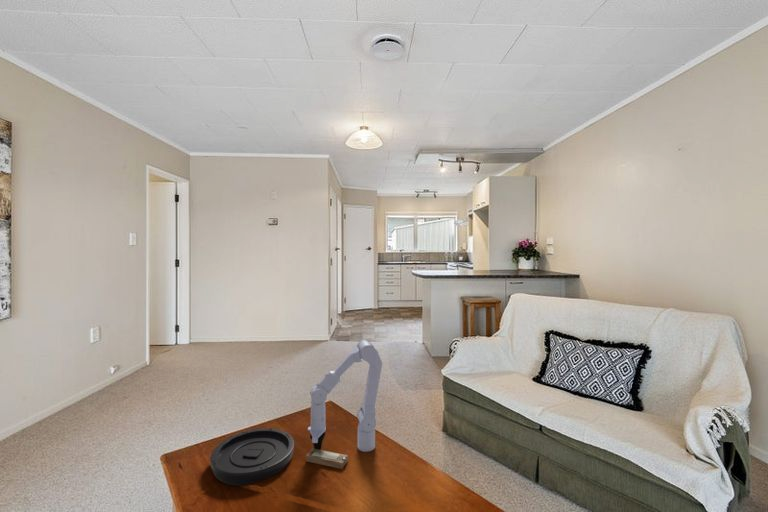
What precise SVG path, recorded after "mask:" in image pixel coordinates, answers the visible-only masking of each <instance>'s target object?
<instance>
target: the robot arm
mask: <svg viewBox="0 0 768 512" xmlns="http://www.w3.org/2000/svg"><path fill="white" fill-rule="evenodd" d="M363 361H365V362H366V363H368V364H369V366H368V372H367V378H366V384H365V388H364V396H363V401H362V402H361V403H360V407H359V409H358V411H357V413H356V417H357V419H358V425H357V450H359V451H361V452H363V453H365V452H367V453H368V452H372V451H373V450H375V448H376V427H377V421H376V401H377V395H378V392H379V391H378V390H379V385H380V379H381V372H382V368H383V367H382V366H383V362H382V359H381V357H380V354H379V351H378V350H377V348H375V347H374V345H373V344H372V343H371V342H370V341H369V340H367V339H362V340H359V342H357V344H356V345H355V346H353V347H352V348H351V350H350V351H349V353H348V354H347V355H346V356H345V357H344V358H343V359H342V361H341V362H340V363H339V364H338V366H337V367H336V368H335V369H334V370H329V372H326V373H325V374H324V377H323V378H322V379H321V380H320V381H319V382H317V383H316V385H314V386H313V387H312V388H311V390H310V398H311V399H310V400H311V402H310V404H311V405H310V426H308V428H307V432H310V435H309V438H310V440H311V443H312V444H313V449H318V450H322V446H323V441H324V439H325V436H326V432H327V431H326V430H327V429H326V427H327V426H326V401H327V396H328V395H329V394H330V393H331V392H332V391H333V390H334V388H335V387H336V386H337V385H339V383H340V382H341V377H342V375H344V373H346V371H347V370H348V369H350V368H351V367H352V365H354V363H362V362H363Z"/></svg>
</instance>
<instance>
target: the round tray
mask: <svg viewBox="0 0 768 512" xmlns="http://www.w3.org/2000/svg"><path fill="white" fill-rule="evenodd" d="M294 448H295V439H294V438H293V436H292V435H291V434H289V433H288V432H286V430H285V431H284V430H282V429H277V428H255V429H254V428H253V429H249V430H245V431H242V432H239V433H237V434H234V435H231V436H229V437H227V438H225V439H224V440H222V441H221V442H219V444H218V445H217V446H216V447H214V449H213V450H212V452H211V454H210V458H209V459H210V460H209V461H210V468H211V471H212V473H213V475H214V477H215V478H216V479H217V480H218V481H220V482H221V483H222V484H226V485H229V486H238V487H239V486H240V487H241V486H243V487H245V486H250V485H253V483H256V482H259V481H264V480H267V479H269V478H271V477H272V476H275V475H277V474H278V473H279V472H281V471H282V470H283V469H284V468H286V467H287V465H288V464H289V463H290V462H291V460H292V457H293V454H294V450H295V449H294Z"/></svg>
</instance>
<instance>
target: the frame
mask: <svg viewBox="0 0 768 512" xmlns="http://www.w3.org/2000/svg"><path fill="white" fill-rule="evenodd" d="M305 456H306V458H305V460H306V462H308V463H312V464H317V465H322V466H327V467H332V468H337V469H342V470H343V469H344V467H345V466H346V464H347V463H348V461H349V455H347V454H345V453H344V454H342V453H339V452H334V451H328V450H323V449H321V450H318V449H314V448H311V450H310V451H309V452H308V453H307V454H306V455H305Z"/></svg>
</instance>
